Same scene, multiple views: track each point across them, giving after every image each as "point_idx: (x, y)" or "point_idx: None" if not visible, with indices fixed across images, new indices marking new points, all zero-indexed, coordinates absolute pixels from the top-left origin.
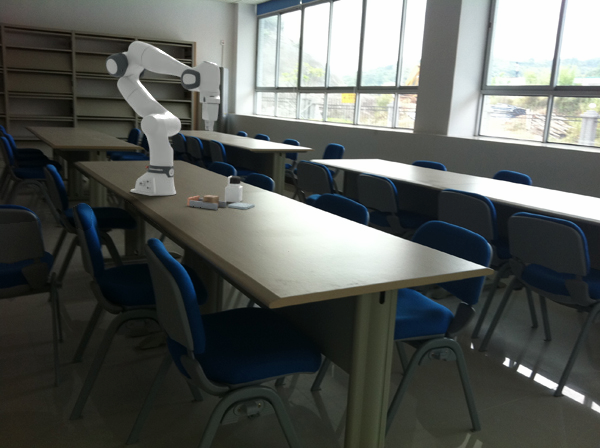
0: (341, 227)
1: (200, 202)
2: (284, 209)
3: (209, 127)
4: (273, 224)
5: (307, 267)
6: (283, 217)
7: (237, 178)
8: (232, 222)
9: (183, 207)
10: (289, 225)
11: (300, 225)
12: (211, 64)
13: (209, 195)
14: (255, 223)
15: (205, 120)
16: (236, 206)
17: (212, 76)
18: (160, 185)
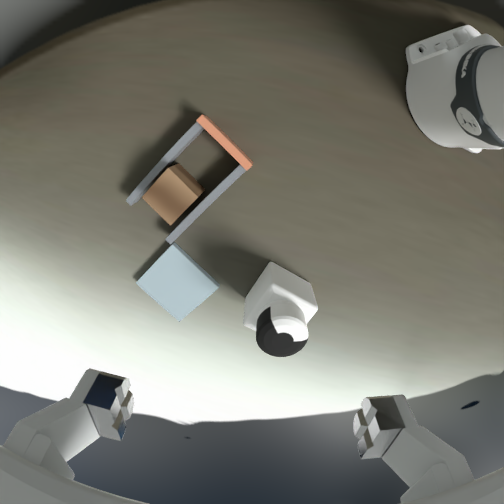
0: (18, 366)
1: (165, 154)
2: (146, 367)
3: (73, 396)
4: (7, 277)
5: None
6: (62, 325)
7: (257, 342)
8: (9, 201)
9: (179, 98)
10: (7, 301)
11: (11, 318)
12: None
13: (183, 194)
14: (7, 246)
15: (434, 489)
16: (153, 264)
17: None
18: (428, 75)
